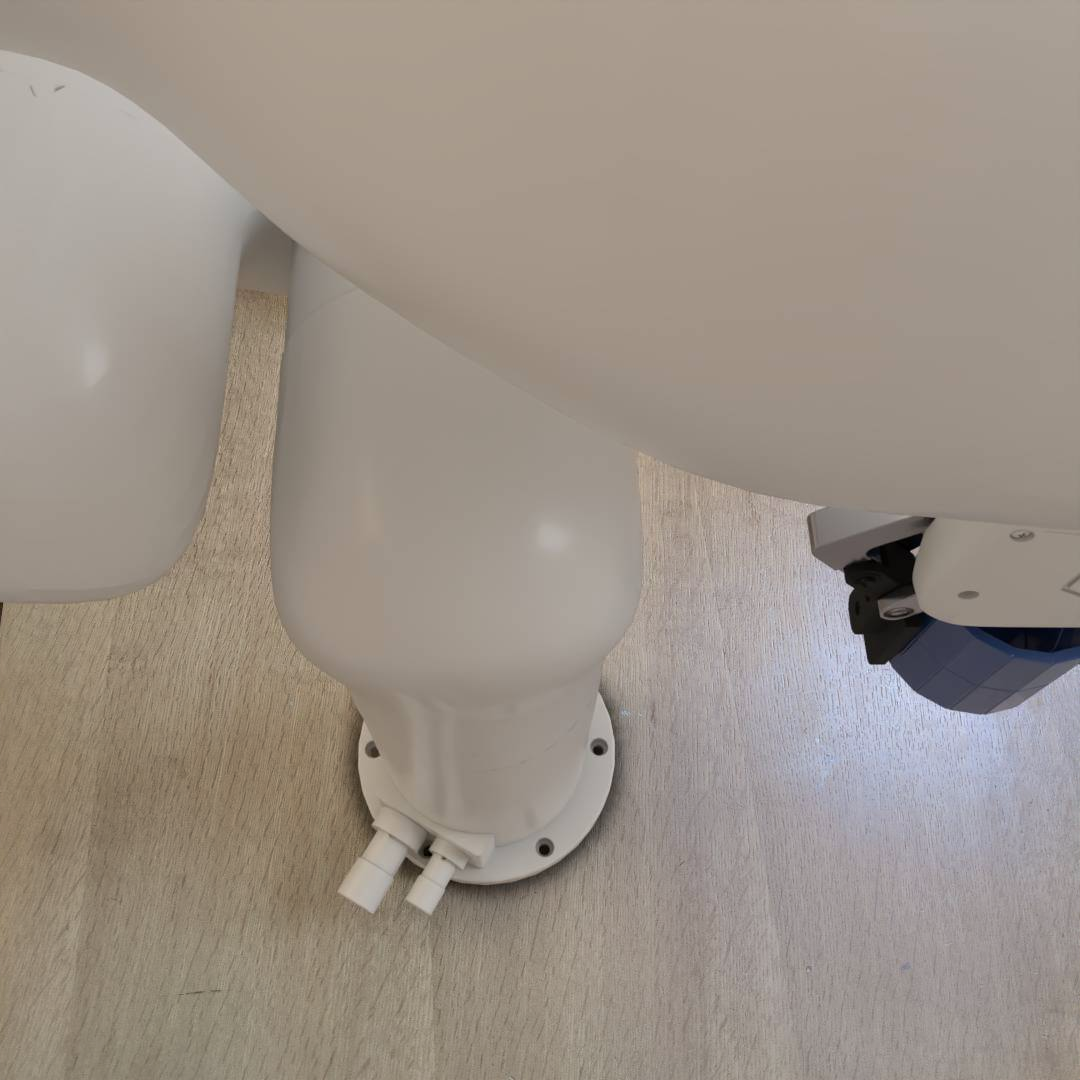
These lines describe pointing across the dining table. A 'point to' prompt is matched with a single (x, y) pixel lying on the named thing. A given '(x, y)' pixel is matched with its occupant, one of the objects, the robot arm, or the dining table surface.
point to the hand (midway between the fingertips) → (968, 625)
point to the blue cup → (984, 663)
